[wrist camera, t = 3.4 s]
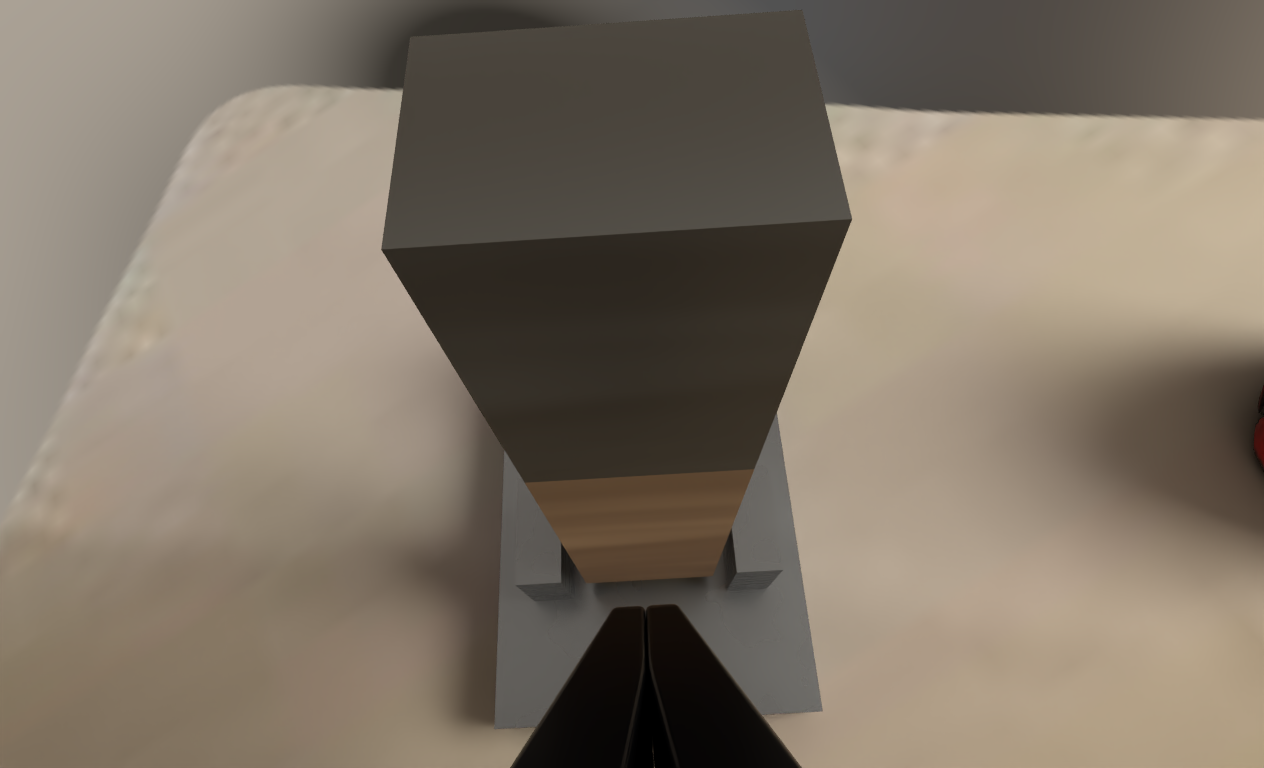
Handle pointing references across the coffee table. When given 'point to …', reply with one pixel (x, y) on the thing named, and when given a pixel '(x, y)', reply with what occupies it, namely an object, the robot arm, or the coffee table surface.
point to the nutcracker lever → (621, 260)
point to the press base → (657, 602)
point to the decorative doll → (1260, 432)
